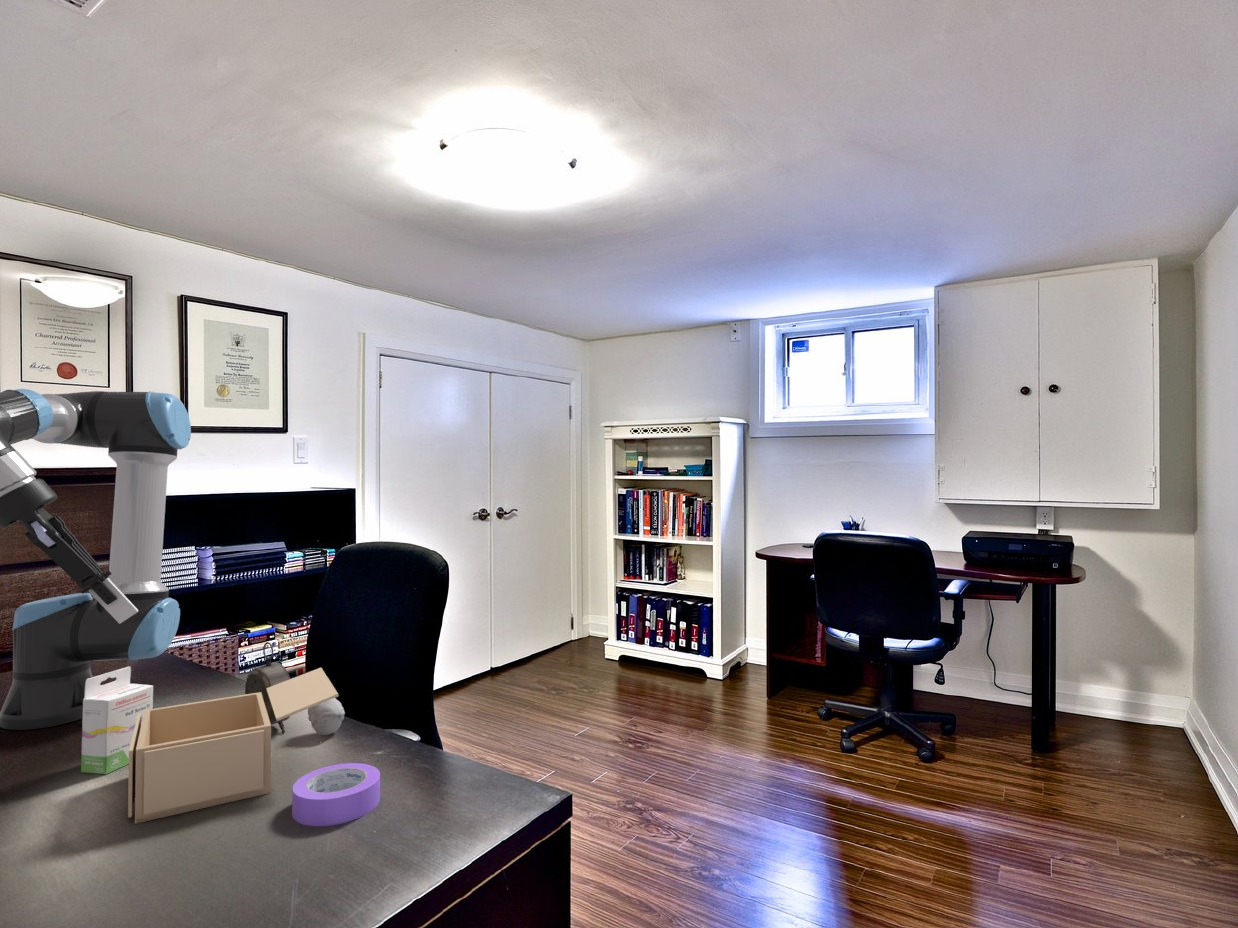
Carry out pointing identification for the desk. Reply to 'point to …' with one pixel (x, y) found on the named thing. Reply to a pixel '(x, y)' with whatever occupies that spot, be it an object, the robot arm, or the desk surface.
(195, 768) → the carton
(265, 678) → the alarm clock
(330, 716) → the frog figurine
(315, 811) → the masking tape
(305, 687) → the flap
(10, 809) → the desk surface
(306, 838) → the desk surface
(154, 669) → the desk surface
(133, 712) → the ink box
